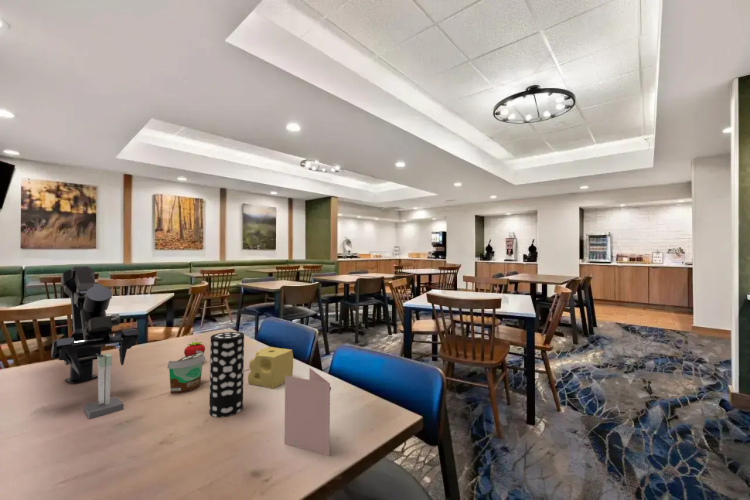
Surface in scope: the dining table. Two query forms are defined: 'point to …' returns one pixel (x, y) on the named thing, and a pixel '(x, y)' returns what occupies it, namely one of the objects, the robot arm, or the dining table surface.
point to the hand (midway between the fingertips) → (101, 368)
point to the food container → (186, 373)
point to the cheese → (270, 367)
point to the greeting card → (307, 413)
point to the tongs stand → (109, 403)
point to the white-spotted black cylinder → (226, 374)
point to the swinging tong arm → (100, 378)
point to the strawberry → (194, 348)
